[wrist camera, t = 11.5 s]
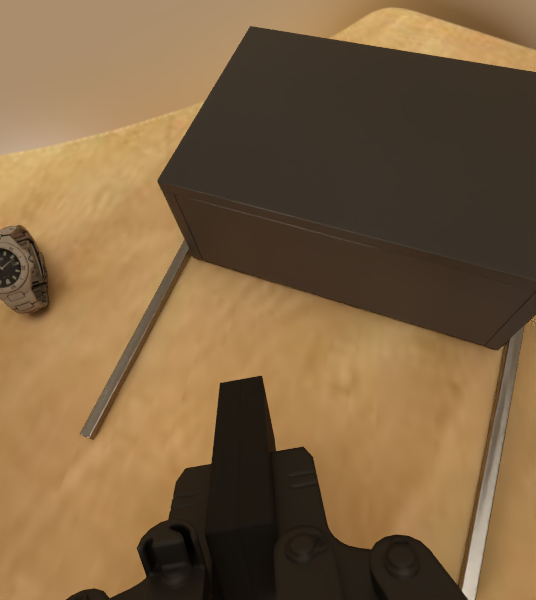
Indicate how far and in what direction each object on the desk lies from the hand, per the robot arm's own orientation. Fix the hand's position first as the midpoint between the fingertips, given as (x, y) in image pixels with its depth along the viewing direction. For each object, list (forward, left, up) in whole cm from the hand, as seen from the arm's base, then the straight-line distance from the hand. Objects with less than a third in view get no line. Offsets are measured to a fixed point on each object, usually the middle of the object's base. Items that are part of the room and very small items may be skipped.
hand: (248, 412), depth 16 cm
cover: (0, +17, -11) cm, 20 cm away
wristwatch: (-20, +5, -11) cm, 23 cm away
